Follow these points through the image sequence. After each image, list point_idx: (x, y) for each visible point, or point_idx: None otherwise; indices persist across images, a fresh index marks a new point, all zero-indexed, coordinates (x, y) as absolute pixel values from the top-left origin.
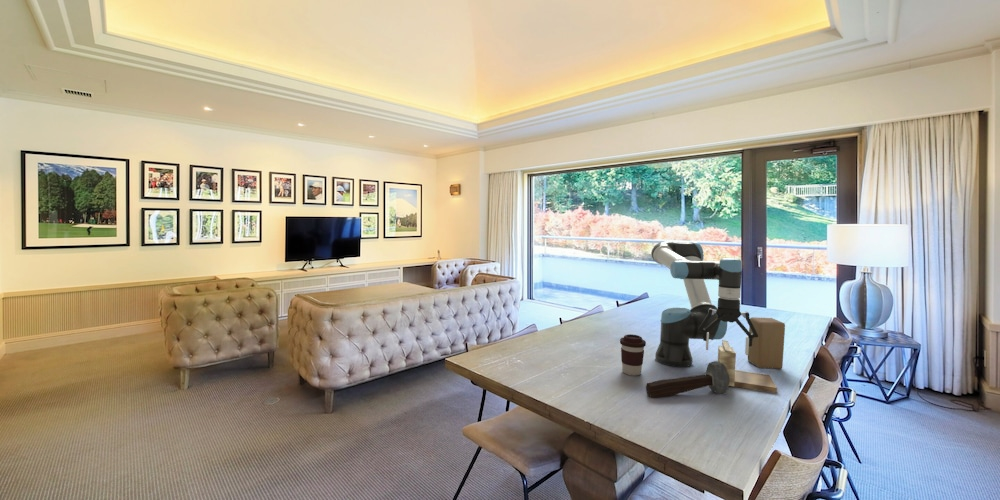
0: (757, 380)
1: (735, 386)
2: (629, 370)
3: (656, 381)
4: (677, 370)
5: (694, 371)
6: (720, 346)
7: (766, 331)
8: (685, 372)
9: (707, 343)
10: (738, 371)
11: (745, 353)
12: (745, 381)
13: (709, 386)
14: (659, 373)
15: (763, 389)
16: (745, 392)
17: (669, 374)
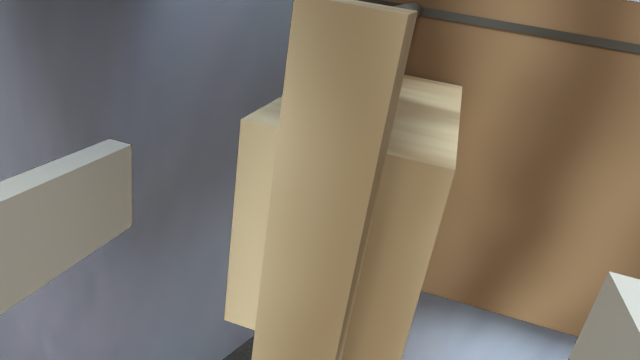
0: (631, 245)
1: None
2: None
3: None
4: (87, 34)
5: (196, 15)
6: (261, 164)
7: None
8: (137, 62)
9: (56, 264)
10: (552, 37)
11: (589, 320)
12: (501, 279)
13: (240, 349)
14: (4, 130)
15: None
16: (456, 346)
17: (53, 133)
